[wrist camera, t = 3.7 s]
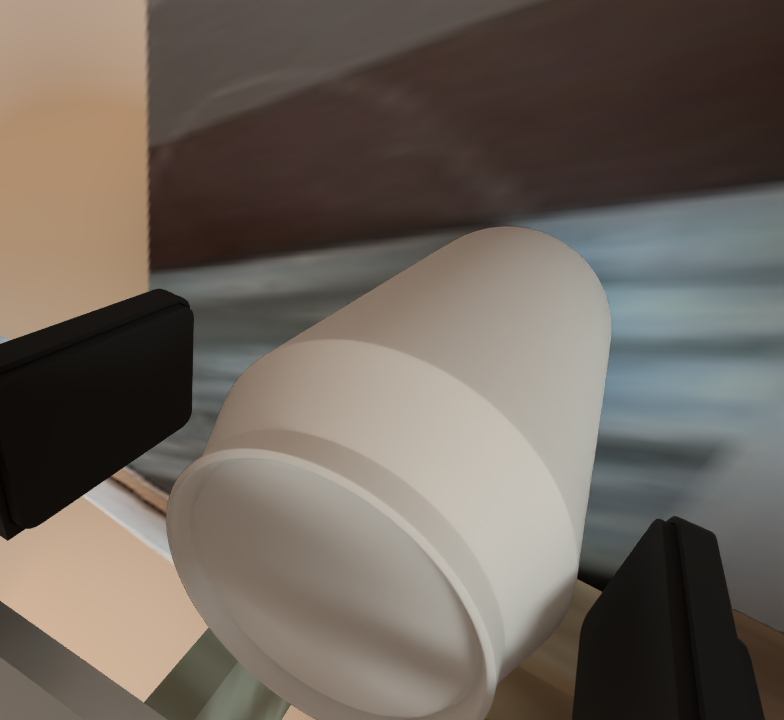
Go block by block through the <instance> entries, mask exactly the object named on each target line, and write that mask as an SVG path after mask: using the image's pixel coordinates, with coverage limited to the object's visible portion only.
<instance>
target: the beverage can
mask: <svg viewBox="0 0 784 720" xmlns="http://www.w3.org/2000/svg"><path fill="white" fill-rule="evenodd" d="M610 343H611V314H610V308H609V304H608V300H607V297H606V294H605V292H604V289H603V287H602V285H601V283H600V281H599V279H598V277H597V276H596V274H595V272H594V271H593V270H592V268H591V267H590V266H589V264H588V263H587V262H586V261H585V260H584V259H583V258H582V257H581V256H580V255H579V254H578V253H577V252H576V251H574V250H573V249H572V248H571V247H569V246H568V245H566V244H565V243H563V242H562V241H560V240H558V239H556V238H554V237H552V236H550V235H548V234H545V233H542V232H539V231H536V230H532V229H528V228H522V227H508V226H507V227H493V228H486V229H482V230H478V231H475V232H472V233H469V234H467V235H464V236H462V237H460V238H458V239H456V240H454V241H452V242H451V243H449V244H447V245H445V246H444V247H442V248H440V249H439V250H437V251H435V252H434V253H432V254H430V255H429V256H427V257H425V258H424V259H422V260H420V261H419V262H417V263H415V264H414V265H412V266H410V267H409V268H407V269H405V270H404V271H402V272H400V273H399V274H397V275H395V276H394V277H392V278H391V279H389V280H387V281H386V282H384V283H382V284H381V285H379V286H377V287H376V288H374V289H372V290H371V291H369V292H368V293H366V294H364V295H363V296H361V297H359V298H358V299H356V300H354V301H353V302H351V303H349V304H348V305H346V306H345V307H343V308H341V309H340V310H338V311H336V312H335V313H333V314H331V315H330V316H328V317H326V318H325V319H323V320H322V321H320V322H318V323H317V324H315V325H313V326H312V327H310V328H308V329H307V330H305V331H304V332H302V333H300V334H299V335H297V336H295V337H294V338H292V339H290V340H289V341H287V342H286V343H284V344H282V345H281V346H279V347H277V348H276V349H274V350H273V351H271V352H269V353H268V354H266V355H265V356H263V357H262V358H260V359H259V360H257V361H256V362H255V363H253V364H252V365H251V366H250V367H249V368H248V369H246V370H245V371H244V372H243V374H242V375H241V376H240V377H239V378H238V379H237V381H236V382H235V383H234V385H233V386H232V388H231V390H230V391H229V393H228V395H227V397H226V399H225V401H224V403H223V406H222V408H221V410H220V413H219V415H218V418H217V420H216V423H215V425H214V428H213V430H212V432H211V435H210V437H209V440H208V442H207V445H206V447H205V450H204V452H203V455H202V456H201V457H200V458H198V459H197V460H196V461H194V462H193V463H192V464H190V465H189V466H188V467H187V468H186V469H185V470H184V471H183V472H182V473H181V475H180V476H179V477H178V479H177V480H176V482H175V484H174V486H173V488H172V490H171V493H170V496H169V500H168V505H167V513H166V526H167V536H168V542H169V547H170V551H171V555H172V558H173V561H174V564H175V567H176V570H177V572H178V575H179V577H180V579H181V582H182V584H183V586H184V588H185V590H186V592H187V594H188V596H189V597H190V599H191V601H192V603H193V604H194V606H195V608H196V609H197V611H198V612H199V614H200V615H201V617H202V618H203V619H204V621H205V622H206V624H207V625H208V627H209V628H210V629H211V631H212V632H213V633H214V634H215V636H216V637H217V638H218V639H219V641H220V642H221V643H222V644H223V645H224V646H225V647H226V649H227V650H228V651H229V652H230V653H231V654H232V655H233V656H234V657H235V658H236V659H237V660H238V661H239V662H240V663H241V664H242V665H243V666H244V667H245V668H246V669H247V670H248V671H249V672H250V673H251V674H252V675H253V676H255V677H256V678H257V679H258V680H259V681H260V682H262V683H263V684H264V685H265V686H266V687H268V688H269V689H270V690H272V691H273V692H274V693H275V694H277V695H278V696H279V697H281V698H282V699H284V700H285V701H287V702H288V703H289V704H291V705H293V706H294V707H296V708H297V709H299V710H300V711H302V712H303V713H305V714H307V715H309V716H310V717H312V718H314V719H316V720H484V719H485V717H486V716H487V714H488V712H489V710H490V708H491V705H492V702H493V699H494V696H495V692H496V688H497V684H498V683H499V682H500V681H501V680H503V679H504V678H505V677H506V676H507V675H508V674H509V673H510V672H512V671H513V670H514V669H515V668H516V667H517V666H518V665H519V664H521V663H522V662H523V661H524V660H525V659H526V658H527V657H528V656H530V655H531V654H532V653H533V652H534V651H535V650H536V649H537V648H539V647H540V646H541V645H542V644H543V643H544V642H545V641H546V640H547V639H548V638H549V637H550V636H551V635H552V634H553V633H554V631H555V630H556V629H557V628H558V626H559V625H560V623H561V622H562V620H563V619H564V617H565V615H566V613H567V611H568V609H569V606H570V604H571V601H572V598H573V595H574V591H575V587H576V582H577V575H578V569H579V562H580V555H581V548H582V542H583V535H584V528H585V521H586V514H587V507H588V500H589V493H590V486H591V479H592V472H593V465H594V458H595V451H596V444H597V437H598V430H599V423H600V416H601V409H602V402H603V395H604V388H605V381H606V374H607V366H608V359H609V351H610Z"/></svg>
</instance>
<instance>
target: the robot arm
mask: <svg viewBox="0 0 784 720" xmlns="http://www.w3.org/2000/svg"><path fill="white" fill-rule="evenodd" d="M193 327H194V316H193V312H192V310H191V309H190V305H189V303H188V301H187V300H185V299H184V298H182V297H180V296H177V295H175V294H173V293H171V292H168V291H166V290H163V289H155V290H152V291H149V292H146V293H143V294H141V295H138V296H135V297H133V298H130V299H126V300H124V301H121V302H118V303H115V304H112V305H109V306H107V307H104V308H101V309H98V310H95V311H92V312H90V313H87V314H84V315H81V316H78V317H75V318H73V319H70V320H67V321H64V322H62V323H59V324H56V325H53V326H50V327H47V328H45V329H42V330H39V331H36V332H33V333H30V334H27V335H24V336H22V337H19V338H16V339H13V340H10V341H7V342H5V343H2V344H0V536H2V537H3V538H4V539H6V540H7V541H8V540H10V539H11V538H13V537H14V536H16V535H17V534H18V533H20V532H21V531H23V530H24V529H30V528H33V527H36V526H38V525H40V524H41V523H43V522H44V521H46V520H47V519H49V518H50V517H52V516H53V515H55V514H56V513H58V512H59V511H61V510H62V509H63V508H65V507H66V506H68V505H69V504H71V503H72V502H74V501H75V500H76V499H78V498H80V497H81V496H82V495H84V494H85V493H87V492H88V491H90V490H91V489H93V488H94V487H96V486H97V485H99V484H100V483H102V482H103V481H104V480H106V479H107V478H109V477H110V476H112V475H113V474H115V473H116V472H118V471H119V470H121V469H122V468H123V467H125V466H126V465H128V464H129V463H131V462H132V461H134V460H135V459H137V458H138V457H140V456H141V455H142V454H144V453H145V452H147V451H148V450H150V449H151V448H153V447H154V446H156V445H157V444H159V443H160V442H161V441H163V440H164V439H166V438H167V437H169V436H170V435H172V434H173V433H175V432H176V431H178V430H179V429H180V428H182V427H183V426H184V425H185V424H186V423H187V422H188V420H189V418H190V416H191V412H192V376H193ZM0 720H167V719H166V718H165V717H163V716H162V715H160V714H159V713H158V712H156V711H155V710H153V709H152V708H150V707H149V706H148V705H146V704H145V703H143V702H142V701H141V700H139V699H138V698H136V697H135V696H134V695H132V694H131V693H129V692H128V691H126V690H125V689H124V688H122V687H121V686H119V685H118V684H117V683H115V682H114V681H112V680H111V679H109V678H108V677H107V676H105V675H104V674H103V673H101V672H100V671H98V670H97V669H96V668H94V667H93V666H91V665H90V664H89V663H87V662H86V661H84V660H83V659H81V658H80V657H79V656H77V655H76V654H74V653H73V652H72V651H70V650H69V649H67V648H66V647H64V646H63V645H62V644H60V643H59V642H57V641H56V640H55V639H53V638H51V637H50V636H49V635H48V634H46V633H45V632H43V631H42V630H41V629H39V628H38V627H36V626H35V625H33V624H32V623H31V622H29V621H28V620H26V619H25V618H24V617H22V616H21V615H19V614H18V613H16V612H15V611H13V610H12V609H11V608H9V607H8V606H7V605H5V604H4V603H2V602H1V601H0ZM572 720H765V717H764V713H763V708H762V704H761V700H760V695H759V691H758V687H757V682H756V678H755V674H754V669H753V665H752V660H751V657H750V654H749V652H748V649H747V647H746V645H745V644H744V643H743V642H742V641H741V640H740V639H738V637H737V632H736V627H735V622H734V618H733V613H732V608H731V604H730V599H729V594H728V590H727V585H726V580H725V576H724V571H723V566H722V562H721V557H720V552H719V548H718V543H717V539H716V536H715V534H714V533H712V532H711V531H708V530H706V529H704V528H702V527H699V526H697V525H695V524H693V523H690V522H688V521H686V520H684V519H681V518H679V517H677V516H673V517H671V518H670V519H669V520H668V521H667V522H666V521H664V520H661V519H656V520H655V521H654V522H653V523H652V524H651V525H650V527H649V528H648V530H647V531H646V532H645V534H644V535H643V536H642V538H641V539H640V541H639V542H638V543H637V545H636V546H635V548H634V549H633V550H632V552H631V553H630V555H629V556H628V557H627V559H626V560H625V561H624V563H623V564H622V566H621V567H620V568H619V570H618V571H617V573H616V574H615V575H614V577H613V578H612V579H611V581H610V582H609V584H608V585H607V586H606V588H605V589H604V591H603V592H602V593H601V595H600V596H599V598H598V599H597V600H596V602H595V603H594V604H593V606H592V607H591V609H590V610H589V611H588V613H587V615H586V616H585V619H584V621H583V624H582V627H581V631H580V638H579V649H578V660H577V670H576V681H575V692H574V702H573V713H572Z"/></svg>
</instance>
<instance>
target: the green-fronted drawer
mask: <svg viewBox="0 0 784 720" xmlns="http://www.w3.org/2000/svg"><path fill="white" fill-rule="evenodd" d="M601 593H602V592H601V591H599V590H598V589H596V588H594V587H592V586H590V585H588V584H586V583H584V582H582V581H580V580H578V579H577V582H576V587H575V591H574V595H573V598H572V601H571V604H570V606H569V609H568V611H567V613H566V615H565V617H564V619H563V620H562V622H561V623H560V625H559V626H558V628H557V629H556V630H555V631H554V633H553V634H552V635H551V636H550V637H549V638H548V639H547V640H546V641H545V642H544V643H543V644H542V645H541V646H540V647H539V648H537V649H536V650H535V651H534V652H533V653H532V654H531V655H530V656H528V657H527V658H526V659H525V660H524V661H523V662H522V663H521V664H519V665H518V666H517V667H516V668H515V669H514V670H513V671H512V672H510V673H509V674H508V675H507V676H506V677H505V678H504V679H503V680H501V681H500V682H499V683H498V684H497V688H496V692H495V696H494V699H493V702H492V705H491V708H490V710H489V712H488V714H487V716H486V717H485V719H484V720H572V713H573V702H574V692H575V681H576V670H577V660H578V649H579V638H580V631H581V627H582V624H583V621H584V619H585V616H586V615H587V613H588V611H589V610H590V609H591V607H592V606H593V604H594V603H595V602H596V600H597V599H598V598H599V596H600V595H601ZM144 703H145V704H146V705H148V706H149V707H150V708H152V709H153V710H155V711H156V712H158V713H159V714H160V715H162V716H163V717H165V718H166V719H167V720H282V718H283V716H284V715H285V713H286V711H287V710H288V708H289V707H290V705H291V704H289V703H288V702H287V701H285V700H284V699H282V698H281V697H279V696H278V695H277V694H275V693H274V692H273V691H272V690H270V689H269V688H268V687H266V686H265V685H264V684H263V683H262V682H260V681H259V680H258V679H257V678H256V677H255V676H253V675H252V674H251V673H250V672H249V671H248V670H247V669H246V668H245V667H244V666H243V665H242V664H241V663H240V662H239V661H238V660H237V659H236V658H235V657H234V656H233V655H232V654H231V653H230V652H229V651H228V650H227V649H226V647H225V646H224V645H223V644H222V643H221V642H220V641H219V639H218V638H217V637H216V636H215V634H214V633H213V632H212V631H211V629H210V628H208V629H207V630H206V631H205V633H204V634H203V635H202V636H201V637H200V638H199V639H198V640H197V642H196V643H195V644H194V645H193V646H192V648H191V649H190V650H189V651H188V652H187V653H186V654H185V656H184V657H183V658H182V659H181V660H180V661H179V663H178V664H177V665H176V666H175V667H174V668H173V670H172V671H171V672H170V673H169V674H168V675H167V677H166V678H165V679H164V680H163V681H162V682H161V684H160V685H159V686H158V687H157V688H156V689H155V690H154V692H153V693H152V694H151V695H150V696H149V697H148V699H147V700H146V701H145V702H144Z"/></svg>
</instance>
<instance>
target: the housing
mask: <svg viewBox="0 0 784 720" xmlns="http://www.w3.org/2000/svg"><path fill="white" fill-rule="evenodd" d="M732 613H733V618H734V622H735V627H736V632H737V637H738V639H740V640H741V641H742V642H743V643H744V644H745V645H746V647H747V649H748V652H749V654H750V657H751V660H752V665H753V669H754V674H755V678H756V682H757V687H758V691H759V695H760V700H761V704H762V708H763V713H764V717H765V720H784V634H782V633H780V632H778V631H776V630H774V629H772V628H770V627H768V626H766V625H764V624H762V623H760V622H758V621H756V620H754V619H752V618H750V617H748V616H745V615H743V614H741V613H739V612H737V611H735V610H733V609H732Z"/></svg>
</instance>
